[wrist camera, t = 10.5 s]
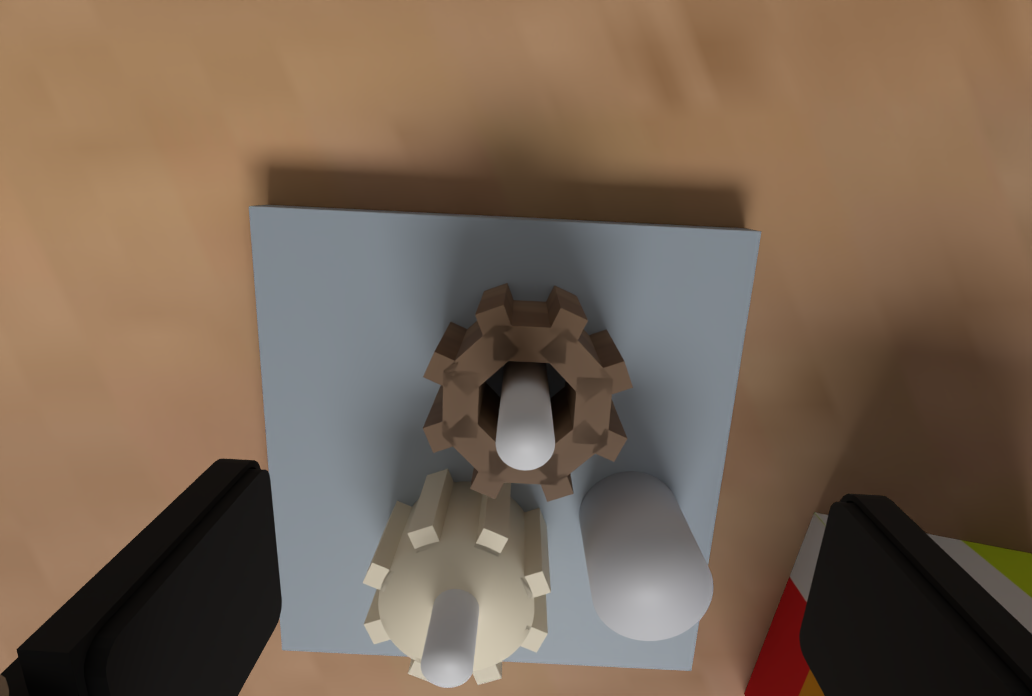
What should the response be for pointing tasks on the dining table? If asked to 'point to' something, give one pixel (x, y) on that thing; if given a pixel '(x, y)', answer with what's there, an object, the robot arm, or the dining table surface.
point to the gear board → (381, 399)
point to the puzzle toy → (781, 665)
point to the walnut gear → (575, 408)
